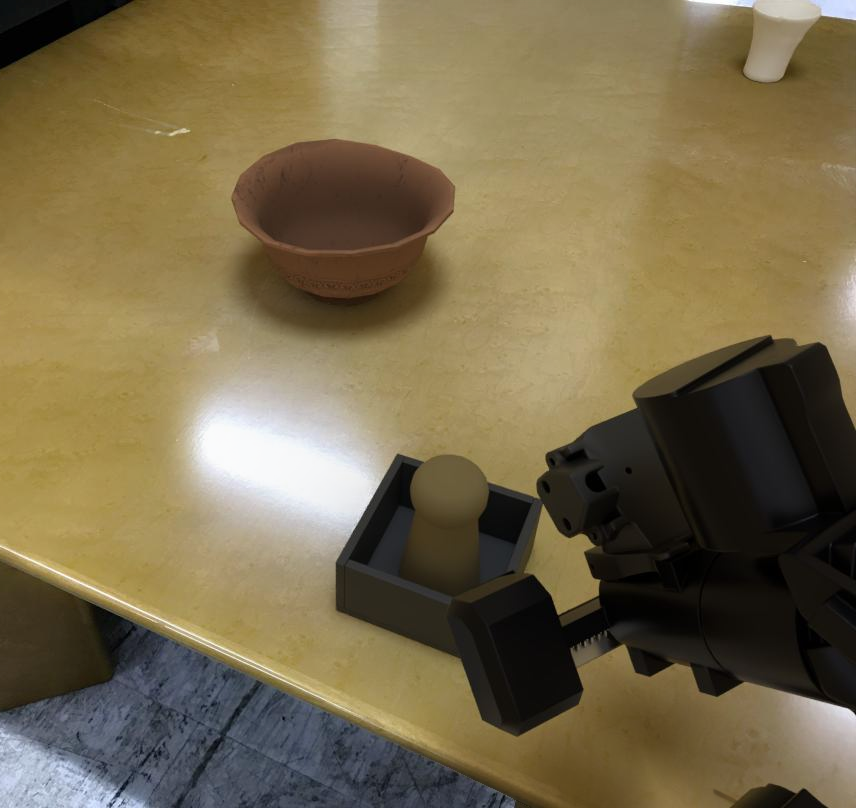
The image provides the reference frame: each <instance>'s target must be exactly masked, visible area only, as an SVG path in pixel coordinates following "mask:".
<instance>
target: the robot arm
mask: <svg viewBox="0 0 856 808" xmlns="http://www.w3.org/2000/svg"><path fill="white" fill-rule="evenodd" d="M631 397H632V399H633V402H634V404H635V408H633V409H630V410H627V411H625V412H623V413H620V414H618V415H616V416H613V417H610V418H608V419H605V420H603V421H601V422H599V423H596V424H593V425H592V426H589V427H588V428H587V429H586V430H585V431H583V432H582V433H581V434H580V435H578V437H576V439H574V440H573V441H572V442H570V443H567V444H564V445H562V446H559V447H557V448H555V449H553V450H550V451H547V452H546V453H545V456H544V457H545V463H546V465H547V468H548V470H547V471H545V472H543V474H541V475H540V476H539V477H538V478H537V479H536V482H535V486H536V493H537V495H538V498H539V499H541V501H542V503H543V506H544V508H545V510H546V512H547V514H548V516H549V517H550V519H551V521H552V523H553V524H554V526H555V528H556V530H557V531H558V533H560V534H561V535H562V536H564V537H566V538H567V539H572V538H574V537H576V536H579V535H584V536H586V537H587V539H588V540H589V541H590V543H591V544H592V545H593V547H591V548H589V549H587V550H584V551H583V554H584V557H585V560H586V564H587V566H588V569H589V572H590V575H591V577H592V578H593V579H595V580H599V583H598V595H596V596H594V597H592V598H590V599H588V600H586V601H584V602H581V603H580V604H578V605H576V606H574V607H572V608H569V609H567V610H565V611H563V612H560V613H559V614H558V610H557V608H556V605H555V603H554V599H553V596H552V594H551V593H550V592H549V591H548V590H547V589H546V588H545V586H544V585H543V584H542V583H541V582H540V580H539V579H538V578H537V576H535V574H534V573H529V572H524V573H523V572H520V573H515V571H514V570H511V571H509V572H507V573H505V574H502V575H500V576H498V577H496V578H494V579H491V580H489V581H487V582H485V583H483V584H480V585H478V586H476V587H474V588H472V589H471V590H469V591H467V592H465V593H463V594H460V595H458V596H456V597H454V598H452V599H451V602H450V604H449V607H448V609H447V612H446V614H445V615H446V618H447V621H448V624H449V627H450V630H451V633H452V636H453V638H454V641H455V644H456V647H457V650H458V653H459V656H460V658H459V659H460V661H461V664H462V668H463V670H464V672H465V676H466V678H467V681H468V684H469V687H470V691H471V693H472V695H473V698H474V701H475V704H476V707H477V710H478V713H479V715H480V718H481V721H483V722H485V723H487V724H488V725H490V726H492V727H494V728H497V729H499V730H501V731H503V732H505V733H506V734H507V733H508V734H510V735H512V736H514V737H517V738H518V737H520V736H522V735H524V734H526V733H528V732H530V731H532V730H533V729H535V728H537V727H539V726H541V725H543V724H544V723H546V722H548V721H551V720H552V719H554V718H556V717H558V716H561V714H563V713H566V712H567V711H569V710H571V709H573V708H576V707H577V706H579V704H580V702H581V699H582V696H583V693H584V691H585V688H584V686H583V683H582V680H581V677H580V675H579V672H578V669H579V668H581V667H582V666H584V665H586V664H588V663H590V662H592V661H594V660H596V659H598V658H600V657H602V656H604V655H606V654H608V653H610V652H612V651H613V650H616V649H618V648H619V647H622V646H623V645H624V646H625V647H626V650H627V653H628V656H629V659H630V662H631V664H632V668H633V671H634V673H635V674H638V675H642V676H644V677H648V678H651V677H653V676H655V675H656V674H658V673H660V672H662V671H664V670H666V669H668V668H670V667H672V666H674V665H676V664H677V665H680V666H684V667H688V668H691V671H692V674H693V677H694V680H695V683H696V687H697V690H698V692H699V693H701V694H705V695H708V696H712V697H714V698H715V697H716V698H718V697H721V696H723V695H724V694H725V693H727V692H729V691H732V690H733V689H735V688H737V687H739V686H740V685H742V684H744V683H748V684H751V685H755V686H756V685H757V686H759V687H760V686H761V687H764V688H768V689H772V690H775V691H779V692H783V693H787V694H790V695H794V696H798V697H801V698H806V699H809V700H813V701H817V702H821V703H824V704H827V705H832V706H835V707H840V708H844V709H848V710H849V711H851V713H853V714H854V715H855V716H856V427H855V424H854V422H853V420H852V417H851V415H850V413H849V410H848V408H847V405H846V403H845V400H844V397H843V391H842V383H841V378H840V375H839V373H838V370H837V367H836V365H835V363H834V361H833V359H832V356H831V354H830V351H829V349H828V347H827V345H825V344H823V343H822V342H820V341H814V342H812V343H811V342H810V343H806V344H801V345H798V343H797V341H796V340H795V338H791V337H790V338H789V337H783V338H773V336H772V334H767V335H763V336H758V337H754V338H750V339H747V340H742V341H740V342H737V343H733V344H730V345H727V346H724V347H721V348H719V349H715V350H713V351H710V352H707V353H705V354H702V355H699V356H697V357H694V358H691V359H689V360H686V361H685V362H683V363H680V364H678V365H675V366H673V367H671V368H669V369H667V370H665V371H663V372H661V373H659V374H657V375H655V376H654V377H651V378H650V379H648V380H646V381H645V382H644V383H642V384H641V385H639V386H638V387H636V388H635V390H633V392H632V393H631ZM729 808H829V806H827V805H825V804H823V803H822V802H821V801H820V800H819V799H818V798H817V797H815V795H813V794H812V793H811V792H810V791H809V790H808V789H806V788H804V787H802V788H801V789H799V791H798V792H795V791H793V790H791V789H789V788H788V787H785V786H782V785H778V784H774V783H767V784H766V785H765V786H757V787H753V788H750V789H749V790H747V792H745V794H743V795H742V796H741V797H740V798H738V800H736V801H735V802H734V803H733V804H731V806H730V807H729Z"/></svg>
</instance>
